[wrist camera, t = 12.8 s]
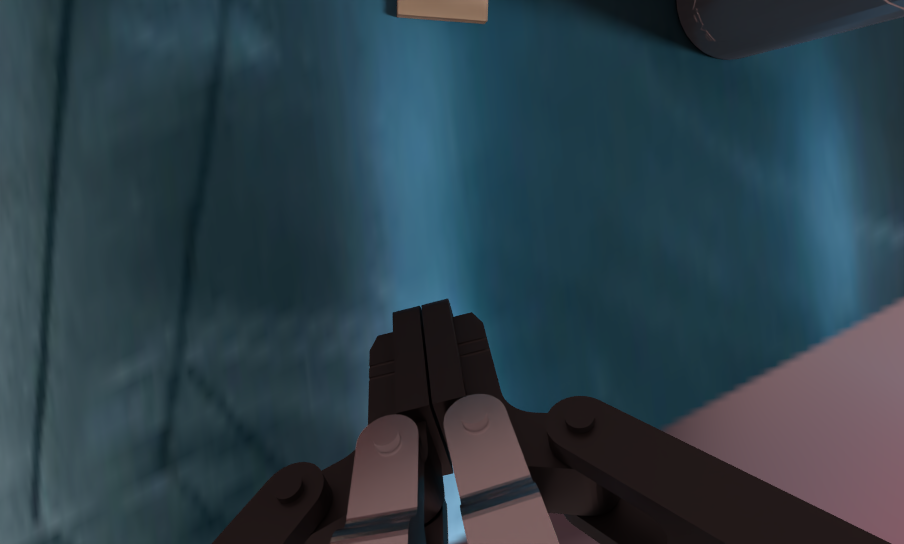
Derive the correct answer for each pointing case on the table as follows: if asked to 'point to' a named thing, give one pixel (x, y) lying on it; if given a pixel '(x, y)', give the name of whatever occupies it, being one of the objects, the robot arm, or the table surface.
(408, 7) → the rack
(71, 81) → the table surface
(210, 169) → the table surface
